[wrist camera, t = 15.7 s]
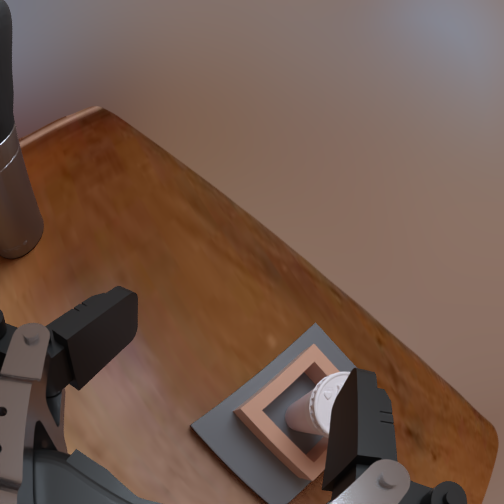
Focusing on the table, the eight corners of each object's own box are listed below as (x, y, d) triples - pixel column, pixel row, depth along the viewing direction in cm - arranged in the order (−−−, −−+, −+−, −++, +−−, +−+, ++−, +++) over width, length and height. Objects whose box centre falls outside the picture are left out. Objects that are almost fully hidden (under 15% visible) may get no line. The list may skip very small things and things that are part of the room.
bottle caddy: (189, 425, 27) (193, 424, 23) (310, 326, 38) (328, 311, 34) (273, 508, 22) (290, 518, 19) (375, 398, 34) (399, 390, 30)
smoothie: (281, 449, 26) (356, 451, 15) (267, 397, 29) (331, 368, 18) (331, 432, 28) (417, 416, 17) (316, 383, 32) (393, 346, 21)
